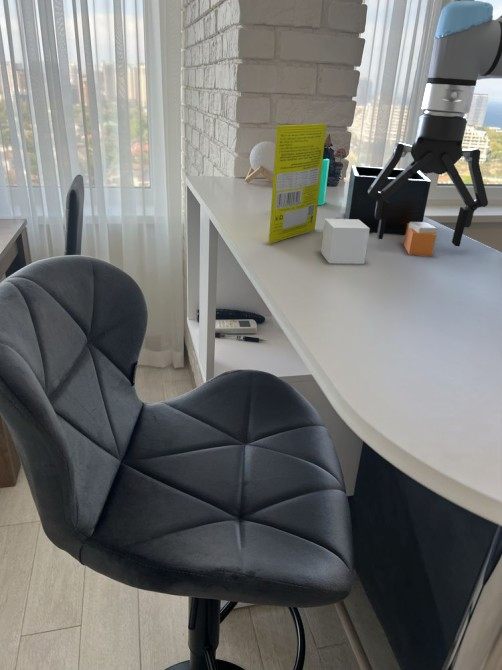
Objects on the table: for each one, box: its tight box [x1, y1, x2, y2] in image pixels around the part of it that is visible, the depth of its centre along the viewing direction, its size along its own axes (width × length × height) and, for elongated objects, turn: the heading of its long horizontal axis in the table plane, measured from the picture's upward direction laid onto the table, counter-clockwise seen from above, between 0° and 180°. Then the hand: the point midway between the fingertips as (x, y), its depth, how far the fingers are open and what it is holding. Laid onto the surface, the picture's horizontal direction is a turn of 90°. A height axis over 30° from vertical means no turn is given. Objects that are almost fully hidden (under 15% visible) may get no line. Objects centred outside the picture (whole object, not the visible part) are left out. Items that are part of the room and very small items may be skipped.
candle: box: [318, 158, 330, 206], centre depth 124 cm, size 6×6×12 cm
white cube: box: [320, 218, 370, 265], centre depth 85 cm, size 6×6×6 cm
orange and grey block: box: [403, 221, 438, 258], centre depth 92 cm, size 4×7×5 cm, turn 173°
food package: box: [268, 123, 327, 245], centre depth 92 cm, size 15×1×20 cm, turn 141°
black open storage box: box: [344, 165, 432, 236], centre depth 107 cm, size 15×15×11 cm
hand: (417, 241), depth 92 cm, fingers open, 13 cm apart
